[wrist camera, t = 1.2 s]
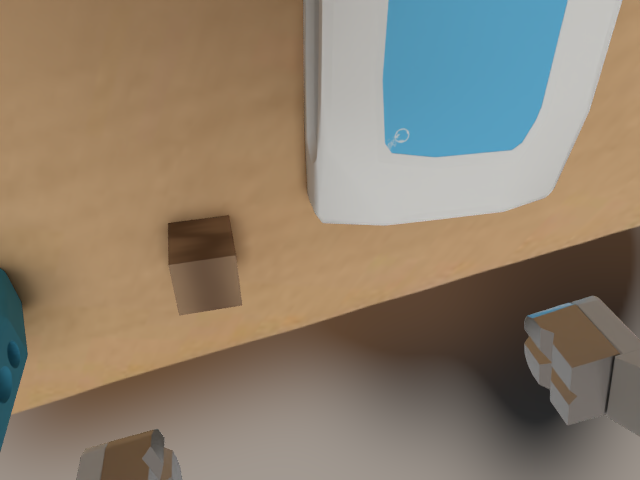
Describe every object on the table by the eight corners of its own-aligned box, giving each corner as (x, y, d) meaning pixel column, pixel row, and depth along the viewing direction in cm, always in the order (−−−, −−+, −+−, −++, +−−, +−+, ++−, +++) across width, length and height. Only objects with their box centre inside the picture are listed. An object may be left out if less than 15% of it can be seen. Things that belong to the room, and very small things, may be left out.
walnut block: (178, 270, 48) (179, 315, 44) (168, 223, 46) (168, 265, 41) (234, 262, 49) (242, 305, 44) (228, 215, 47) (235, 255, 42)
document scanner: (617, -213, 36) (691, -226, 31) (523, 172, 51) (562, 206, 46) (301, -228, 32) (326, -245, 27) (303, 195, 47) (320, 234, 42)
